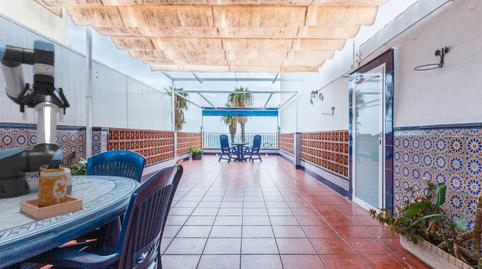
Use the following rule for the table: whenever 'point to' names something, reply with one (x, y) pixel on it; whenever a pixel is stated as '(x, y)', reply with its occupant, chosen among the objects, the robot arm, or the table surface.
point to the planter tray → (50, 208)
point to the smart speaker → (68, 180)
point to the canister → (51, 183)
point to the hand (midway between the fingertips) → (43, 121)
